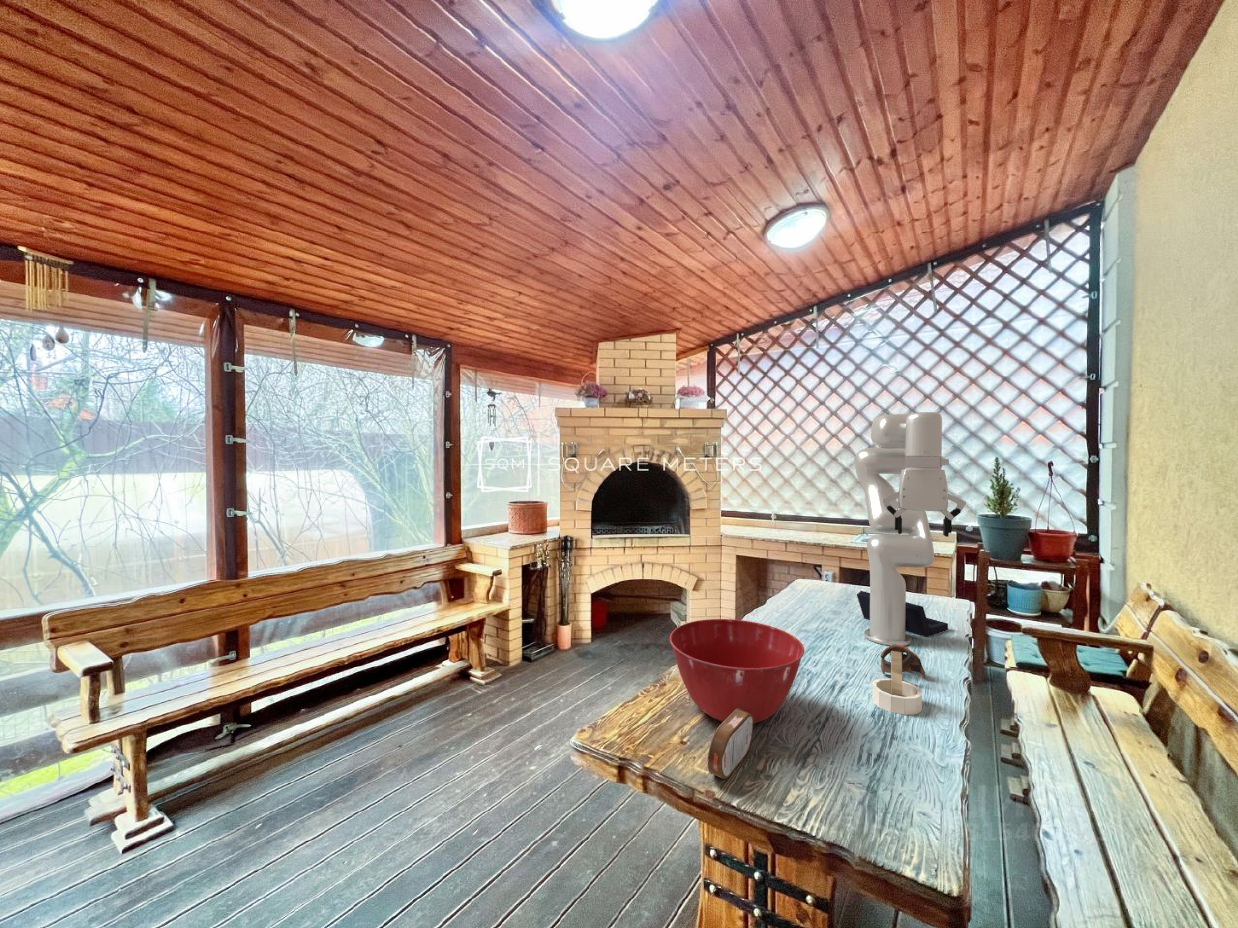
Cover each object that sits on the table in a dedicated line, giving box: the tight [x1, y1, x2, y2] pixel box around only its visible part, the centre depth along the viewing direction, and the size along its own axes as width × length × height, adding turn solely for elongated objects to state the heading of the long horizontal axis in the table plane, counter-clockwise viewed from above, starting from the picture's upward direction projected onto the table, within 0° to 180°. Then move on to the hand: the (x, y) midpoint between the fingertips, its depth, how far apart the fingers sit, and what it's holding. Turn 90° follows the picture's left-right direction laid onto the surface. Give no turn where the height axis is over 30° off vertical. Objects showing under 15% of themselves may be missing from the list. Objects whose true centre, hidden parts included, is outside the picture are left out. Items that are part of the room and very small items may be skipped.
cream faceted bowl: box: [871, 678, 923, 716], centre depth 114 cm, size 10×10×4 cm
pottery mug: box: [880, 644, 926, 680], centre depth 129 cm, size 12×9×8 cm
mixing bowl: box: [669, 618, 805, 725], centre depth 111 cm, size 28×28×16 cm
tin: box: [707, 708, 754, 780], centre depth 91 cm, size 15×3×8 cm, turn 144°
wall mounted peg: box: [886, 651, 908, 697], centre depth 114 cm, size 4×4×10 cm
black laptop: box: [856, 590, 949, 638], centre depth 166 cm, size 21×16×10 cm
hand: (922, 534), depth 123 cm, fingers open, 9 cm apart
